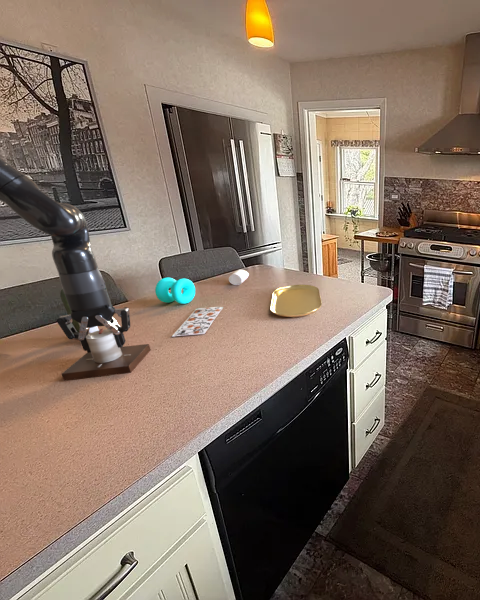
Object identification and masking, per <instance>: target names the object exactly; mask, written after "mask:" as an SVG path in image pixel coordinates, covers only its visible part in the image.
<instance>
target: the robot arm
mask: <svg viewBox="0 0 480 600" xmlns="http://www.w3.org/2000/svg"><path fill="white" fill-rule="evenodd" d="M0 202H1V203H4V204H5V205H6V206H8V207H9V208H10V209H11V210H12V211H13V212H14V213H16V215H18V216H19V217H20V218H22V219H23V220H24V221H25V222H27V223H28V224H29V225H30V226H31V227H33V228H35V229H37V230H38V231H40V232H42V233H44V234H46V235H48V236H50V237H51V241H52V244H53V248H52V250H51V256H52V260H53V264H54V265H55V269H56V271H57V273H58V277H59V283H60V286H61V288H62V289H63V291H64V294H65V296H66V299H67V302H68V304H69V307H70V309H71V314H70V315H68V314H61V315H60V316H59V317H58V318H57V319H56V324H58V326H59V327H60V329H61V330H62V332H63V333H64V334H65V336H66V338H67V339H68V340H70V341H71V340H78V341H79V342H80V344H81V345H80V346H81V347H82V350H83V351H84V352H86V353H87V352H88V353H89V352H91V350H90V348H89V345H88V343H87V340H86V336H87V335H88V333H89V329H90V328H93V327H96V326H98V327H105V328H106V329H110V330H111V331H112V332H113V333H114V334H115V335H114V337H115V340H116V343H117V346H118V348H120V347H124V346H125V344H126V342H127V341H126V338H125V335H124V333H126V332H128V330H129V329H130V328H131V315H130V308H129V307H127V306H125V307H123V308H115V307H114V306H113V304H112V301H111V298H110V295H109V292H108V290H107V289H108V288H107V285H106V282H105V280H104V276H103V275H102V273H101V271H100V269H99V267H98V263H97V261H96V257H95V255H94V252H93V249H92V246H91V238H90V231H89V227H88V223H87V220H86V217H85V215H84V214H83V213H82V211H81V210H80V209H79V208H77V207H76V206H75V205H72V204H71V203H68V202H67V203H66V202H58V201H56V200H55V199H54V198H52V197H50V195H47V194H46V193H45V192H43V191H42V190H41V189H39V185H38V184H37V183H36V182H35V181H34V180H33V179H31V178H30V177H28V176H27V175H26V174H25V173H23V172H22V171H20V170H19V169H17V168H16V167H14V166H13V165H11V164H10V163H8V162H7V161H5V160H4V159H2V158H1V157H0ZM115 314H116V315H117V316H118V317H119V318H120V321H121V325H120V324H119V323H118V321H117V320H116V319H115V318H114V315H115ZM72 319H74V320H75V321H77V322H79V323H80V324H81V325H80V329H79V332H77V331H76V329H75V327H74V326H73V324H72V323H71V322H72Z"/></svg>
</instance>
